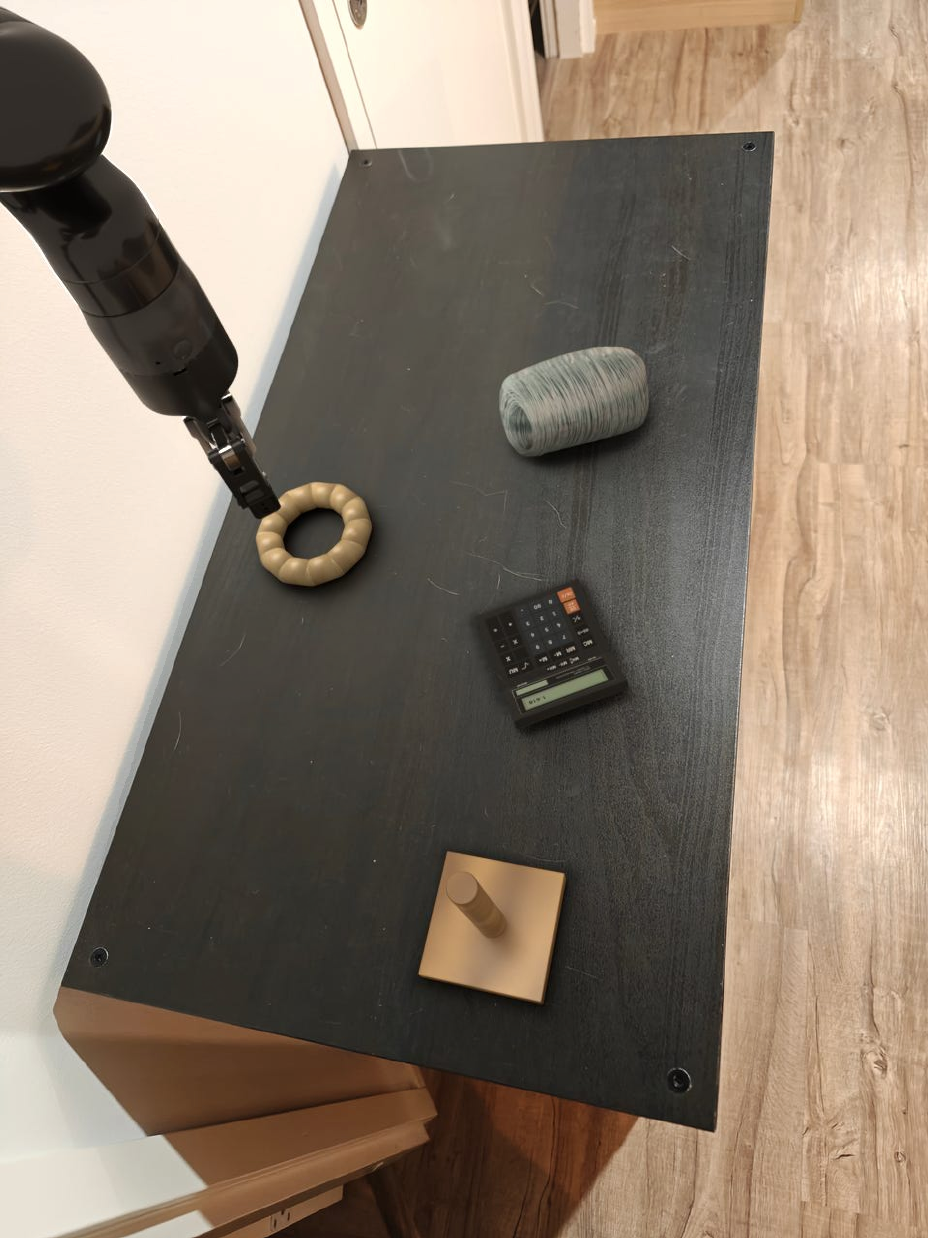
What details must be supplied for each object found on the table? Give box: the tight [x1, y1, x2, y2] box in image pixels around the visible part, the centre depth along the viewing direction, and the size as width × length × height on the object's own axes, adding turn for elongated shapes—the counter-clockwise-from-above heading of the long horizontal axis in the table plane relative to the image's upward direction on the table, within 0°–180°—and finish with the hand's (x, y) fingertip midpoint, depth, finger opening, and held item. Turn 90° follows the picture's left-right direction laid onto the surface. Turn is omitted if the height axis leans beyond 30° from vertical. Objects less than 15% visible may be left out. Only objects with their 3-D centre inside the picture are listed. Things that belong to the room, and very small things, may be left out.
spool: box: [498, 345, 650, 458], centre depth 86 cm, size 14×10×10 cm
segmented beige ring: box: [255, 481, 373, 587], centre depth 88 cm, size 11×11×2 cm
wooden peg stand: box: [418, 850, 567, 1006], centre depth 64 cm, size 9×9×14 cm
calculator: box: [475, 578, 630, 730], centre depth 77 cm, size 9×12×3 cm
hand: (251, 474), depth 76 cm, fingers open, 8 cm apart
